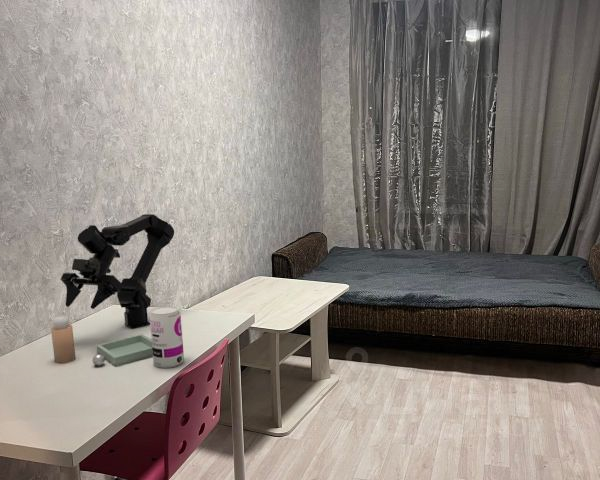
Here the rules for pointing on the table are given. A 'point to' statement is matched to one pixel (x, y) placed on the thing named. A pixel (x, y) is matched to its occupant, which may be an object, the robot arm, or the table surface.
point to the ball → (98, 360)
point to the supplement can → (166, 337)
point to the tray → (126, 350)
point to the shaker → (63, 340)
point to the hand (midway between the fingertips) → (79, 307)
